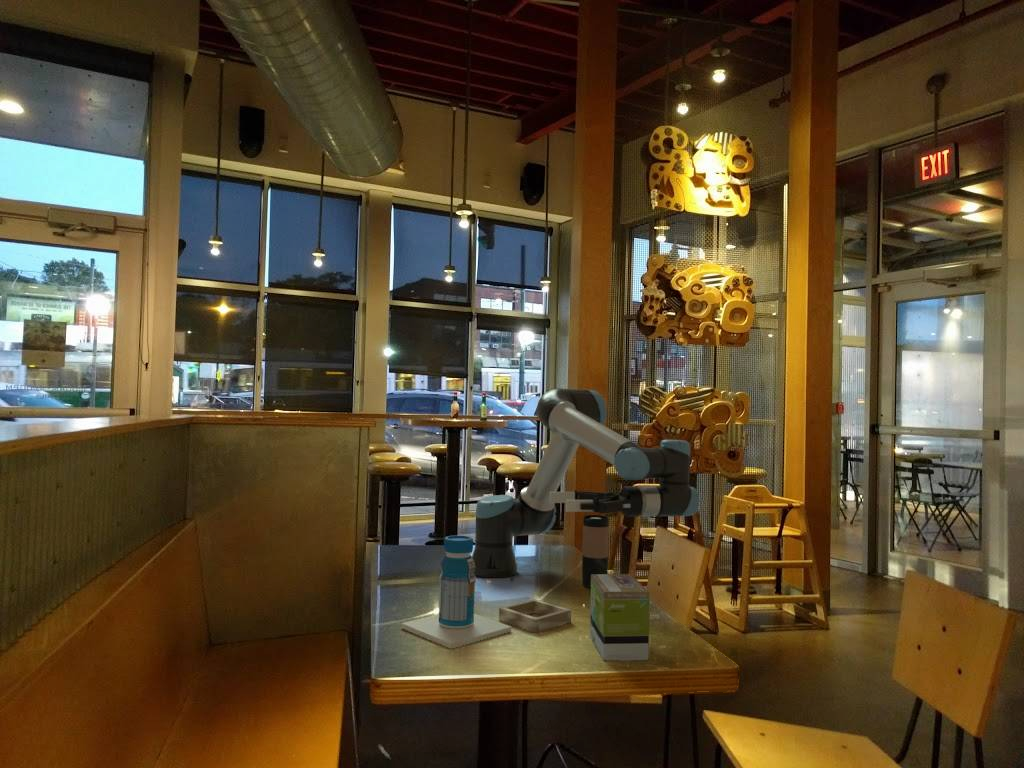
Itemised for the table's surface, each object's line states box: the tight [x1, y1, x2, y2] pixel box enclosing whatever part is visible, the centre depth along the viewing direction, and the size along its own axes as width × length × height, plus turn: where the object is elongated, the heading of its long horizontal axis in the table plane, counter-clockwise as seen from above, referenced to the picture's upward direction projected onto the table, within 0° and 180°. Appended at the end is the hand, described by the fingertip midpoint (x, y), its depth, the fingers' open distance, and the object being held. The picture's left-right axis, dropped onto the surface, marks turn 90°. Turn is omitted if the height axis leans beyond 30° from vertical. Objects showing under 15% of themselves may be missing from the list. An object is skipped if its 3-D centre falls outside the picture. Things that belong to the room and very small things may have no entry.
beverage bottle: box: [438, 534, 477, 629], centre depth 165 cm, size 8×8×20 cm
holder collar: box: [498, 598, 572, 634], centre depth 173 cm, size 12×12×3 cm
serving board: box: [401, 613, 512, 650], centre depth 164 cm, size 18×18×1 cm
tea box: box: [589, 573, 650, 662], centre depth 155 cm, size 15×10×15 cm, turn 5°
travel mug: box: [581, 514, 610, 588], centre depth 210 cm, size 8×8×20 cm
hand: (557, 501), depth 174 cm, fingers open, 13 cm apart
